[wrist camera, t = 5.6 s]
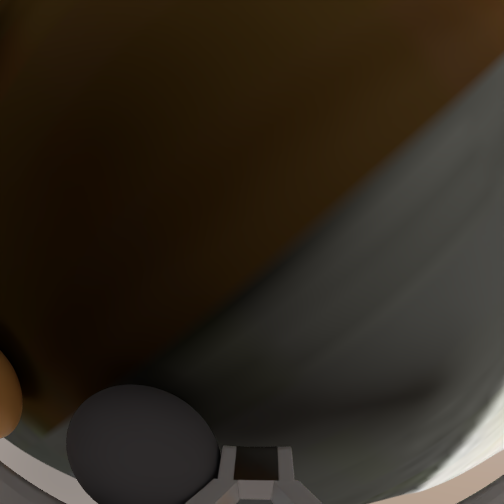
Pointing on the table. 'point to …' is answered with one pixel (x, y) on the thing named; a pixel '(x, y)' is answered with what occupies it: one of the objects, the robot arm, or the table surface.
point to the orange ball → (9, 397)
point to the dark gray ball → (140, 447)
